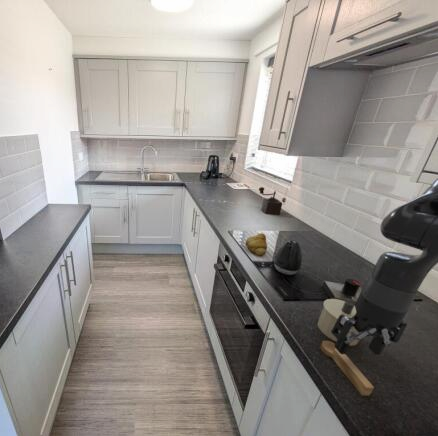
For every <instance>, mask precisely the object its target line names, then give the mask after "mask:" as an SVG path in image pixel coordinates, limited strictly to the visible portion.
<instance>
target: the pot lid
mask: <svg viewBox="0 0 438 436" xmlns="http://www.w3.org/2000/svg"><path fill="white" fill-rule="evenodd" d="M322 305H323V306H322V307H324V309H325V310H326V311H327V312H328V313H329V314H330V315H331V316H332V317H334V318H335V319H337V320H338V318H339V316H340V315H342V314H343V315H345V316H346V317H349V318H352V317H353V316H354V315H355V314H356V308H355V306H354V304H353V303H351V302H349V301H342V300H338V299H329V298H327V299H325V300H324V301H323V304H322Z"/></svg>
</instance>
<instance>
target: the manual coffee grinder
mask: <svg viewBox="0 0 438 436" xmlns="http://www.w3.org/2000/svg"><path fill="white" fill-rule="evenodd" d="M258 191H259V194H261V196H271V197H268V198H265V197H264V198H263V200H262V204H261V208H260V210H261V212H262V213H263V214H265V215H271V216H272V215H273V216H280V214H281V211H282V206H283V202H282V201H281V200H279V199H278V198H276V194H277V191H276V190H274V191H273V193H265V187H263V186H260V187H259V188H258Z"/></svg>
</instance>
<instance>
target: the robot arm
mask: <svg viewBox="0 0 438 436" xmlns="http://www.w3.org/2000/svg"><path fill="white" fill-rule="evenodd" d="M379 229H380V233H381V235H382V236H383V237H384V238H385V239H387V240H389V241H392V242H394V243H397V244H400V245H404V246H406V247H409V248H412V249H415V250H419V251H422V252H421V253H420V254H409V253H404V252H397V251H385V252H382V253H381V254H380V256H379V257H378V259H377V261H376V263H375V265H374V267H373V268H372V270H371V271H372V272H371V273H370V275H369V277H368V278H367V279H366V280H365V282H364V285H363V287H362V291H361V293H360V295H359V297H358V299H357V301H356V303H355V308H356V314H355V315H354V316H353V317H352V318H349V317H346V316H345V315H343V314H342V315H340V316H339V318H338V320H337V322H336V323H335V325H334V327H333V329H332V331H331V333H332V334H333V335H334V336H335V337H336V338H337V341H336V342H335V343H334V344H335V348H336V349H337V350H338V351H339V353H340V354H347V351H348V349H349V347H350V346H349V345H350V343H351V342H352V341H354V340H356V339H357V340H360V341H361V340H362V339H364V338H365V337H372V339H371V341H370V343H369V345H368V349H369V350H370V352H372V353H373V354H374V355H381V353H382V352H383V350H384V348H385V347H386V346H388V345H390V344H391V342H393V343H398V342H399V341H400V340H401V338H402V336H403V334H404V333H405V330H406V328H407V326H408V323H406V322H405V321H404V318H405V317H406V315H407V313H408V311H409V310H410V308H411V306H412V304H413V303H414V301H415V298H416V295H417V292H418V290H419V289H420V287H421V286H422V283H423V282H424V280H425V279H426V277H427V276H428V274H429V273H430V272H431V271H432V270H433V268H434V267H435V266H436V265H438V178H436V179H435V180H434V181H433V182H432V183H431V184H430V185H429V186H428V187H427V189H426V190H425V191H424V192H422V194H420V195H419V196H417V197H414V198H413V199H411V200H409V201H407V202H406V203H403V204H401V205H399V206H397V207H396V208H394V209H393V210H391V211H390V212H389V213H388V214H386V216H385V217H384V218H383V219H382V220H381V222H380V228H379ZM353 327H354V328H355V329H356V330H357V331H358V332H359V333H358V334H356V333H355V332H354V331H353V330H352V328H353ZM338 331H340V332H338ZM349 332H350V333H351V336H349V337H348V338H347V334H348V333H349ZM392 332H393V333H392Z"/></svg>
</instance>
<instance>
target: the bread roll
mask: <svg viewBox="0 0 438 436" xmlns="http://www.w3.org/2000/svg"><path fill="white" fill-rule="evenodd" d="M245 245H246V247H247V249H248V250H249V251H250V252H253V253H254V254H255V255H258V256H264V255H266V253H267V250H268V243H267V236H266V235H265V234H264V233H257V234H255V235H253V236H249V237H247V239H246V240H245Z"/></svg>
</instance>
